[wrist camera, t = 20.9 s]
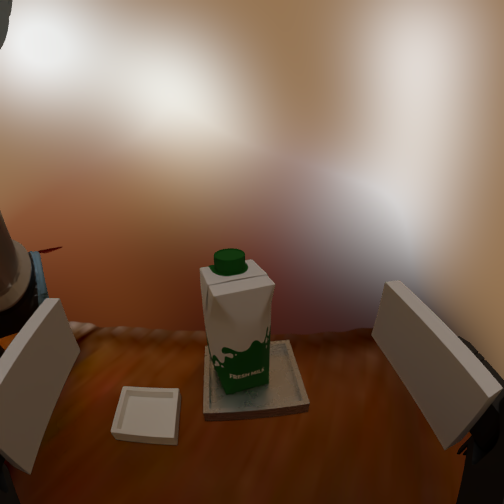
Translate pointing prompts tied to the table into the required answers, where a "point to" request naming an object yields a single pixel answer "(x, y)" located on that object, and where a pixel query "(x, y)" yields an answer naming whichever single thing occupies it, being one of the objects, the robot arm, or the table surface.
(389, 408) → the table surface
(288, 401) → the shallow grey tray
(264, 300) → the milk carton
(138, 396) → the small square white tray
